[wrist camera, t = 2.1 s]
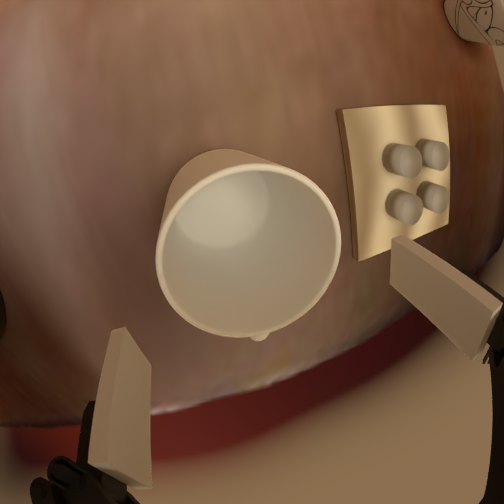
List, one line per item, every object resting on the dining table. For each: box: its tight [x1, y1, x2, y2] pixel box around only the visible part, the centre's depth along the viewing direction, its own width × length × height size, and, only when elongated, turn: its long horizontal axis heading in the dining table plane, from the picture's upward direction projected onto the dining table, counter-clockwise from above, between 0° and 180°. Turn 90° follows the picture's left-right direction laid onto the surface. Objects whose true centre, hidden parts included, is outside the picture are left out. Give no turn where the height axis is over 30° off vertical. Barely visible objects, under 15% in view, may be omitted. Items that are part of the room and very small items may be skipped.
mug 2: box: [444, 0, 504, 47], centre depth 11 cm, size 11×8×10 cm
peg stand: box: [336, 105, 450, 262], centre depth 22 cm, size 14×14×4 cm
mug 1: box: [155, 149, 341, 341], centre depth 17 cm, size 12×8×10 cm
